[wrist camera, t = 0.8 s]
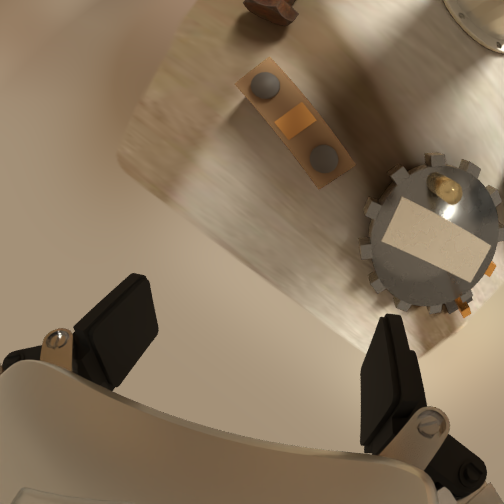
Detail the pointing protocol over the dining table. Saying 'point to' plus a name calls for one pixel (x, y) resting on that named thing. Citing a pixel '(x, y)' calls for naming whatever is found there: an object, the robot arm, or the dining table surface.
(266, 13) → the bolt
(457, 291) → the sprocket
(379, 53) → the dining table surface
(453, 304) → the sprocket stand
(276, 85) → the tan block with disc
